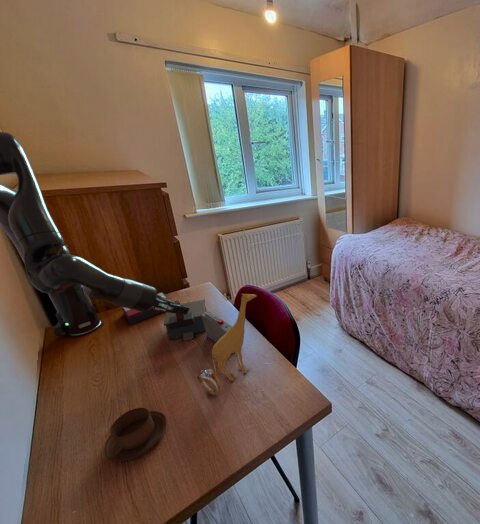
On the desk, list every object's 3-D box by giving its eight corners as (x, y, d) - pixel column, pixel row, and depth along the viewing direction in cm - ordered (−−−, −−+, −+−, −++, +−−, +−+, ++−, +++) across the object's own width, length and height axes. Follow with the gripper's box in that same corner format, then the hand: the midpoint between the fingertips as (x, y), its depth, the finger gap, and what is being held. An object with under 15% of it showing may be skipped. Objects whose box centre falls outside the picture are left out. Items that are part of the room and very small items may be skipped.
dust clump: (183, 333, 102) (184, 336, 102) (183, 338, 99) (183, 341, 100) (192, 331, 103) (193, 333, 103) (192, 335, 100) (193, 338, 101)
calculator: (120, 306, 114) (162, 290, 124) (125, 315, 116) (165, 299, 126) (126, 317, 107) (170, 299, 117) (131, 326, 109) (173, 308, 118)
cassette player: (239, 349, 95) (233, 324, 91) (231, 354, 93) (225, 329, 89) (214, 332, 104) (208, 309, 100) (207, 336, 102) (200, 312, 98)
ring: (199, 392, 80) (192, 370, 76) (209, 384, 82) (202, 362, 79) (215, 402, 76) (208, 380, 73) (225, 393, 79) (219, 372, 76)
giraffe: (262, 352, 94) (250, 285, 84) (270, 358, 91) (259, 290, 81) (214, 383, 82) (193, 310, 72) (222, 391, 80) (201, 316, 69)
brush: (194, 324, 95) (187, 302, 91) (169, 330, 92) (162, 308, 88) (194, 318, 98) (188, 296, 94) (171, 323, 95) (163, 301, 92)
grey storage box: (167, 341, 100) (161, 324, 97) (170, 322, 110) (165, 307, 107) (209, 330, 105) (204, 314, 102) (208, 314, 115) (204, 299, 112)
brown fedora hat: (156, 459, 63) (148, 441, 61) (95, 472, 61) (83, 453, 58) (175, 412, 74) (168, 395, 71) (123, 421, 72) (114, 404, 69)
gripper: (152, 288, 78) (203, 305, 92) (127, 276, 84) (179, 294, 99) (137, 314, 76) (191, 327, 90) (113, 300, 82) (167, 314, 97)
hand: (184, 310), depth 95 cm, fingers closed on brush, 2 cm apart
